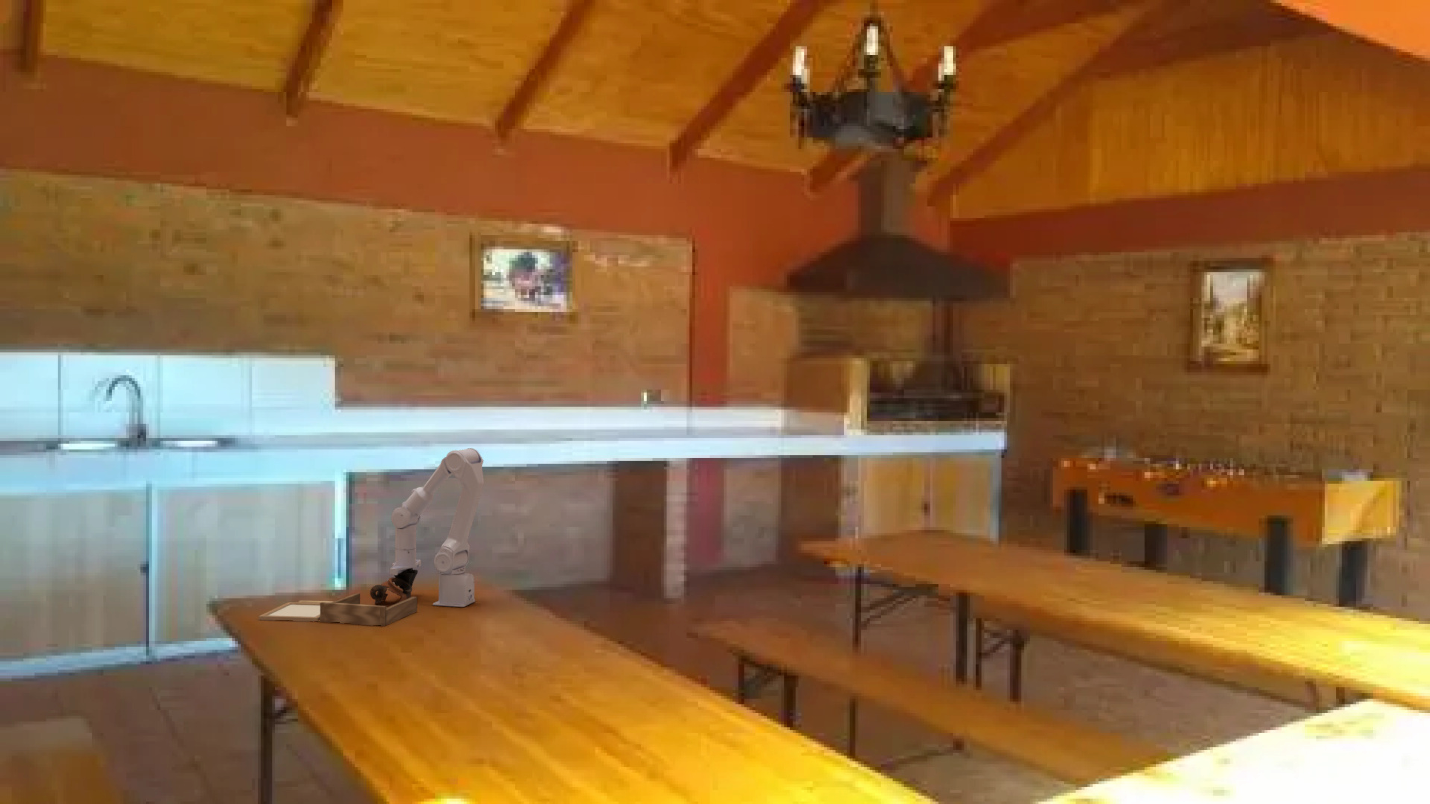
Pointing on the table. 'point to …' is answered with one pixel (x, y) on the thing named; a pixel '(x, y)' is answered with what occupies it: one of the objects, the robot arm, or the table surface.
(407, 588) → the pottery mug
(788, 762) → the table surface
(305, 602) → the lid
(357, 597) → the wooden tray
